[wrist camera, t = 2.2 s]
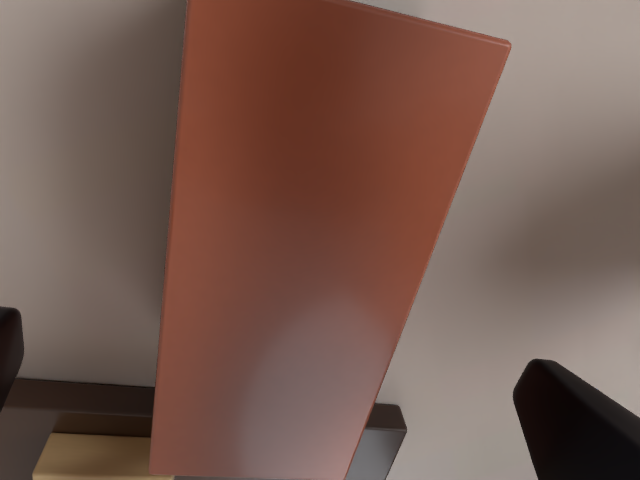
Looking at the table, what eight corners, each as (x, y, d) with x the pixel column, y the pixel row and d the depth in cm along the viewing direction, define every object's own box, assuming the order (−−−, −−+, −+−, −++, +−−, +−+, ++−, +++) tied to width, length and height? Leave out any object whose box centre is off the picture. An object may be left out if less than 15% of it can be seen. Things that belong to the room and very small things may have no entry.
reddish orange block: (424, 19, 11) (516, 42, 7) (323, 357, 16) (345, 482, 12) (216, -34, 10) (188, -41, 6) (176, 344, 15) (146, 476, 11)
